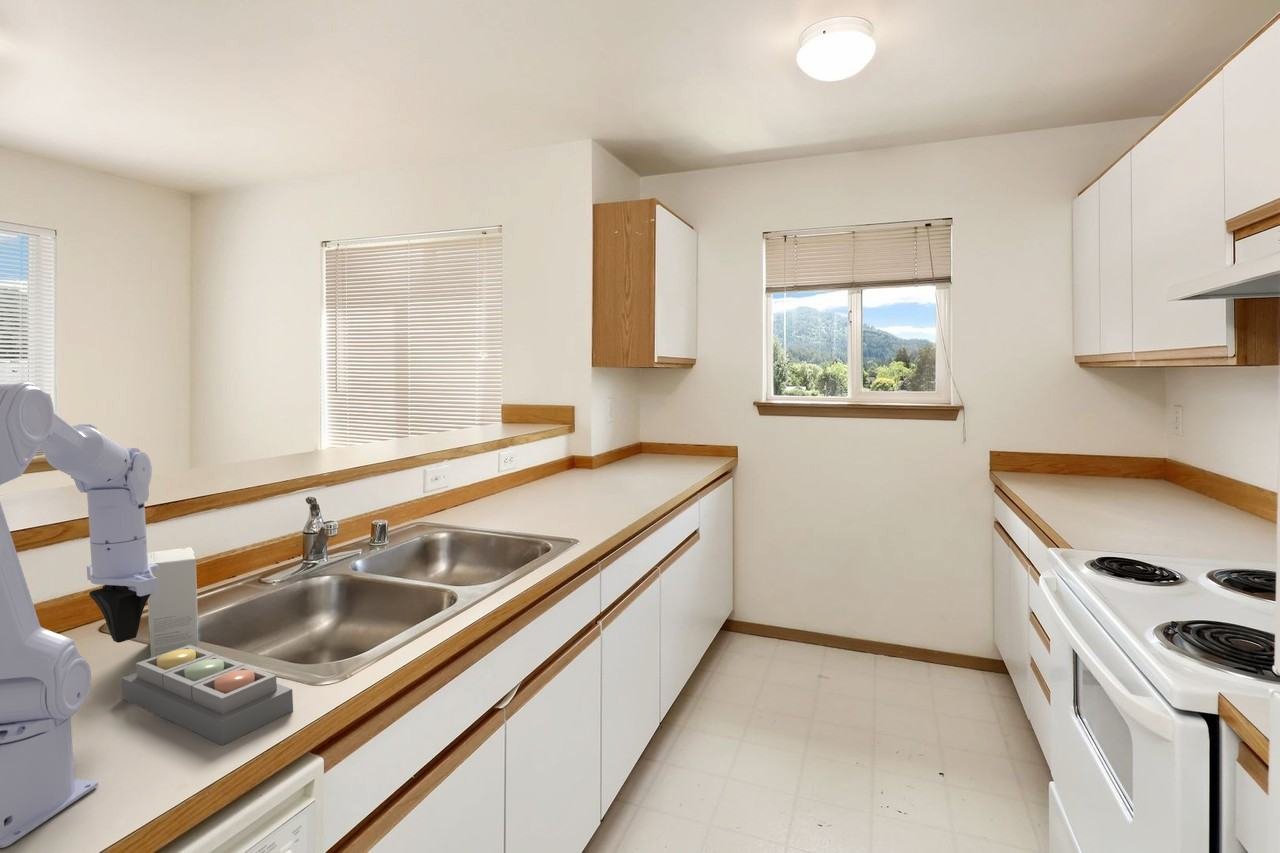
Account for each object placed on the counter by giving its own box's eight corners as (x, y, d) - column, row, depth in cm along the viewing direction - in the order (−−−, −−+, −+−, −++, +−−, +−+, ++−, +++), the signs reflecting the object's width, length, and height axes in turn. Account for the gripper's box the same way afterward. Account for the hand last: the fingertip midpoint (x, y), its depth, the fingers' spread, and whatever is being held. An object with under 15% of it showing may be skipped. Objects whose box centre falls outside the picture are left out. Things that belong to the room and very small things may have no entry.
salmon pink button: (262, 688, 83) (261, 674, 83) (227, 704, 79) (226, 688, 79) (242, 681, 85) (241, 667, 85) (207, 695, 81) (206, 681, 81)
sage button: (231, 677, 86) (230, 663, 86) (196, 691, 82) (195, 676, 82) (213, 670, 88) (212, 656, 88) (178, 683, 84) (177, 669, 84)
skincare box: (150, 643, 106) (144, 552, 104) (197, 633, 110) (192, 545, 109) (150, 660, 99) (144, 563, 98) (201, 649, 103) (196, 556, 102)
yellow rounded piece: (202, 666, 89) (202, 652, 89) (168, 679, 86) (167, 665, 85) (185, 660, 92) (185, 646, 91) (151, 672, 88) (150, 658, 87)
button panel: (293, 710, 84) (291, 674, 84) (222, 745, 76) (220, 705, 76) (193, 671, 95) (191, 640, 95) (123, 698, 87) (120, 663, 87)
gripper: (181, 538, 83) (187, 638, 84) (128, 526, 90) (133, 619, 91) (117, 551, 77) (123, 659, 78) (64, 537, 84) (71, 636, 84)
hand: (124, 639), depth 84 cm, fingers closed
